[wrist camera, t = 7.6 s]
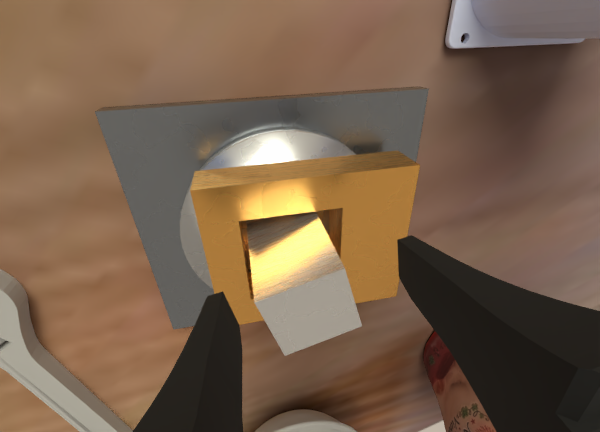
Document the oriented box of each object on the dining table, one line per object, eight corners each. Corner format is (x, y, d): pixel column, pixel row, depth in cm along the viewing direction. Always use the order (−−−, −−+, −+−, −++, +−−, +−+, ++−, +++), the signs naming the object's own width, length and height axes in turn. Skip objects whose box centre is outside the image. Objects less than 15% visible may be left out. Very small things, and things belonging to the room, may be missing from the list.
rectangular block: (307, 194, 19) (344, 268, 13) (323, 243, 21) (362, 326, 15) (245, 217, 18) (254, 302, 13) (268, 264, 21) (284, 356, 15)
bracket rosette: (419, 86, 19) (468, 98, 15) (388, 282, 27) (415, 322, 23) (102, 107, 16) (62, 129, 12) (175, 319, 24) (165, 372, 20)
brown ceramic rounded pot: (479, 386, 41) (582, 528, 29) (394, 406, 39) (468, 567, 27) (537, 271, 31) (732, 417, 19) (427, 289, 28) (569, 466, 17)
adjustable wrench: (147, 436, 32) (143, 456, 30) (82, 453, 31) (75, 474, 30) (0, 249, 19) (-20, 268, 17) (-118, 271, 18) (-149, 292, 17)
